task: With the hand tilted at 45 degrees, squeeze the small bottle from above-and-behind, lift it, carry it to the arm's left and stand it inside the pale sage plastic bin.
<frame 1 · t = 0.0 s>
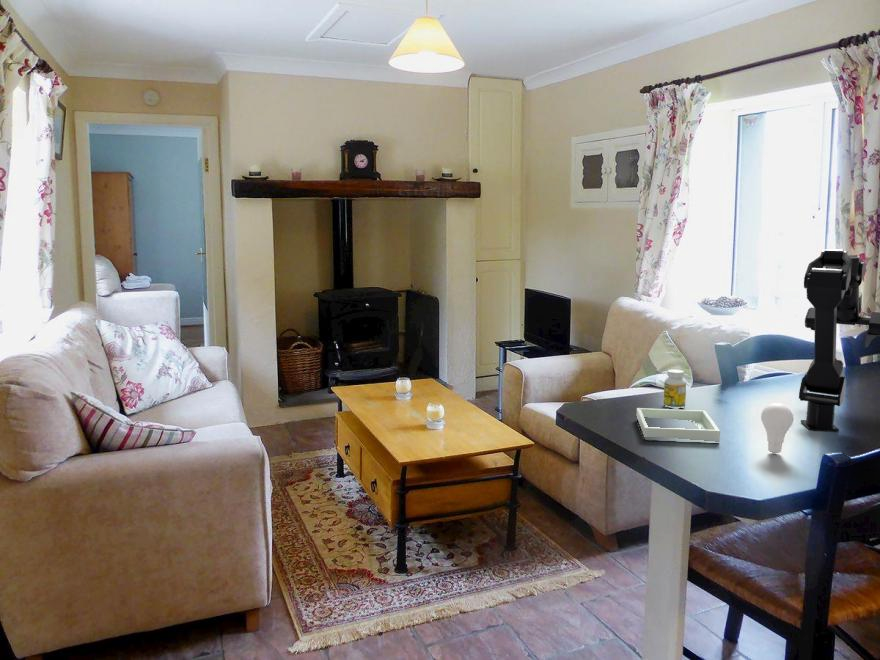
hand: (846, 344, 190), 15 cm above the table, tool tilted 35°, fingers open, 9 cm apart
bin: (675, 431, 166), on the table
supplement bottle: (674, 407, 186), on the table
lightbulb: (774, 454, 150), on the table
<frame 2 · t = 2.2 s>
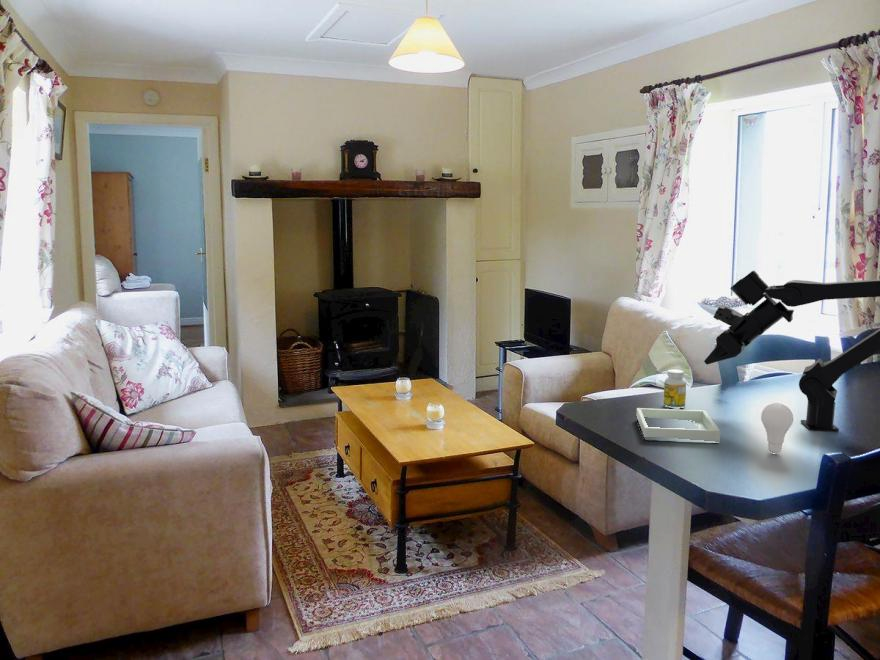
hand: (709, 359, 179), 13 cm above the table, tool tilted 45°, fingers open, 9 cm apart
nothing on the table moved.
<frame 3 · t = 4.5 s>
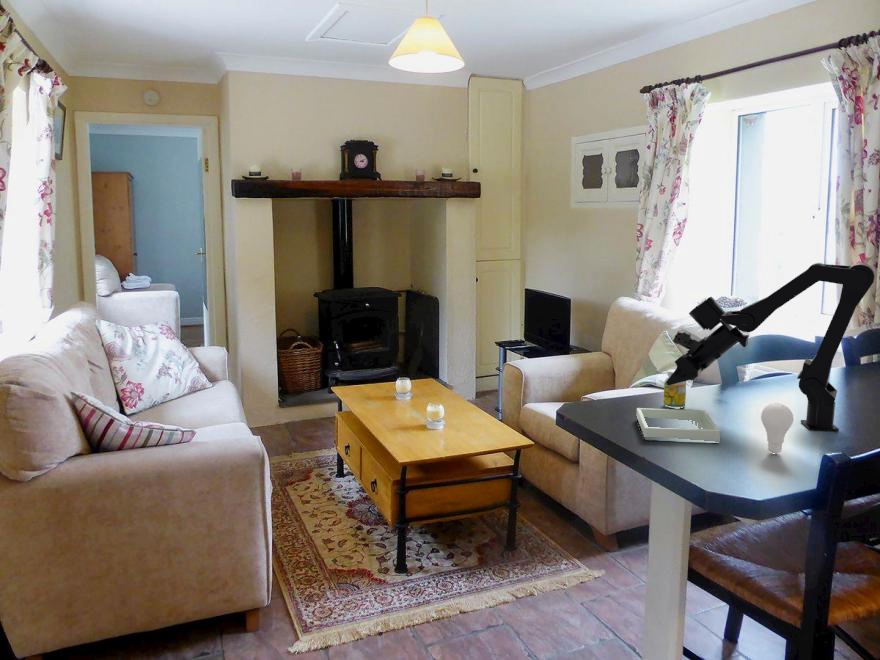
hand: (669, 381, 185), 7 cm above the table, tool tilted 45°, fingers closed on supplement bottle, 5 cm apart
supplement bottle: (674, 407, 186), on the table, touching gripper
everything else where it was.
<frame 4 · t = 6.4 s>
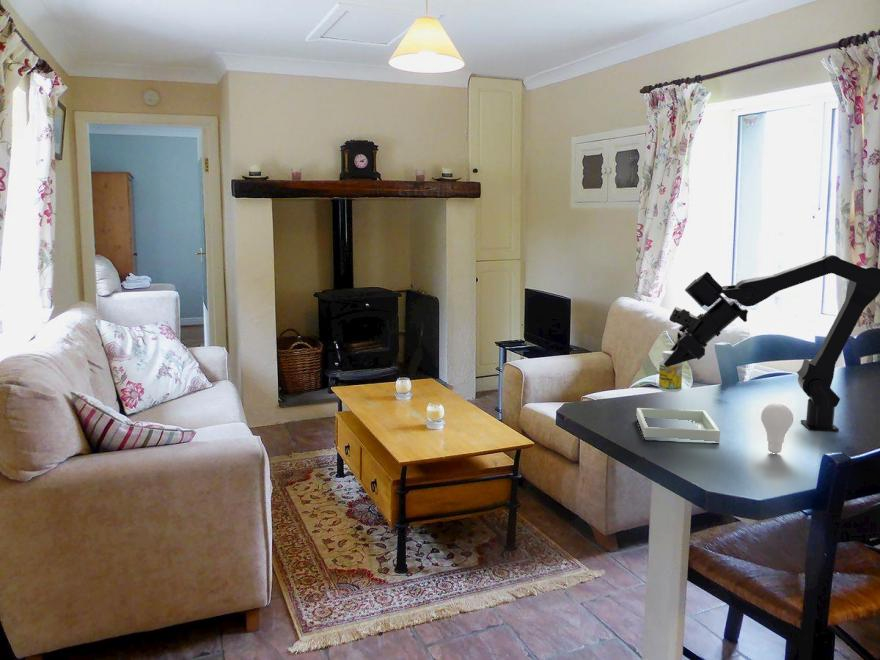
hand: (665, 363, 176), 13 cm above the table, tool tilted 45°, fingers closed on supplement bottle, 5 cm apart
supplement bottle: (669, 390, 177), point 6 cm above the table, touching gripper
everything else where it was.
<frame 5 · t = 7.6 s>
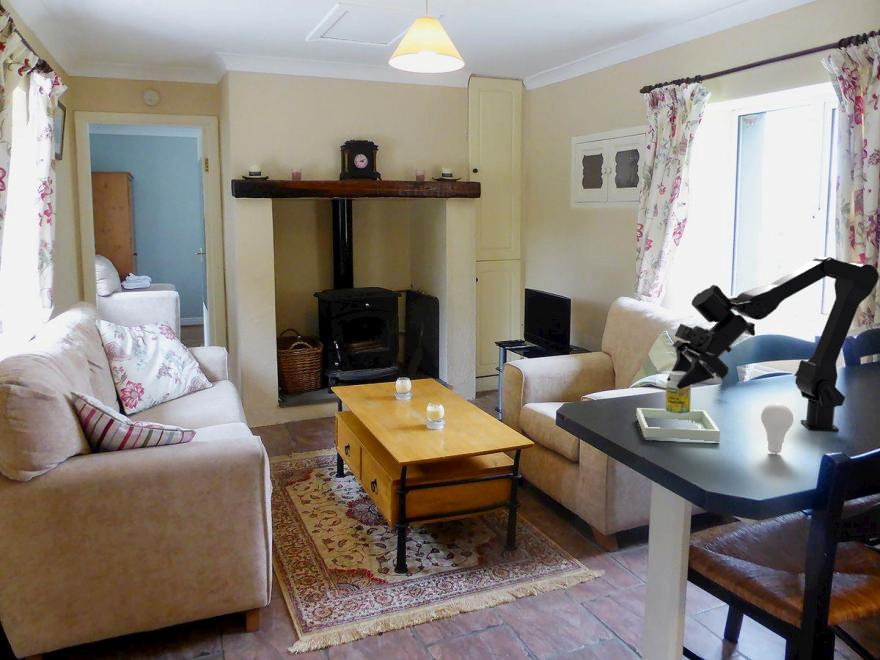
hand: (673, 384, 164), 11 cm above the table, tool tilted 45°, fingers closed on supplement bottle, 5 cm apart
supplement bottle: (677, 413, 165), point 4 cm above the table, touching gripper
everything else where it was.
when the fingers open (9 cm above the table, at t = 8.4 s): supplement bottle drops 1 cm, resting on bin.
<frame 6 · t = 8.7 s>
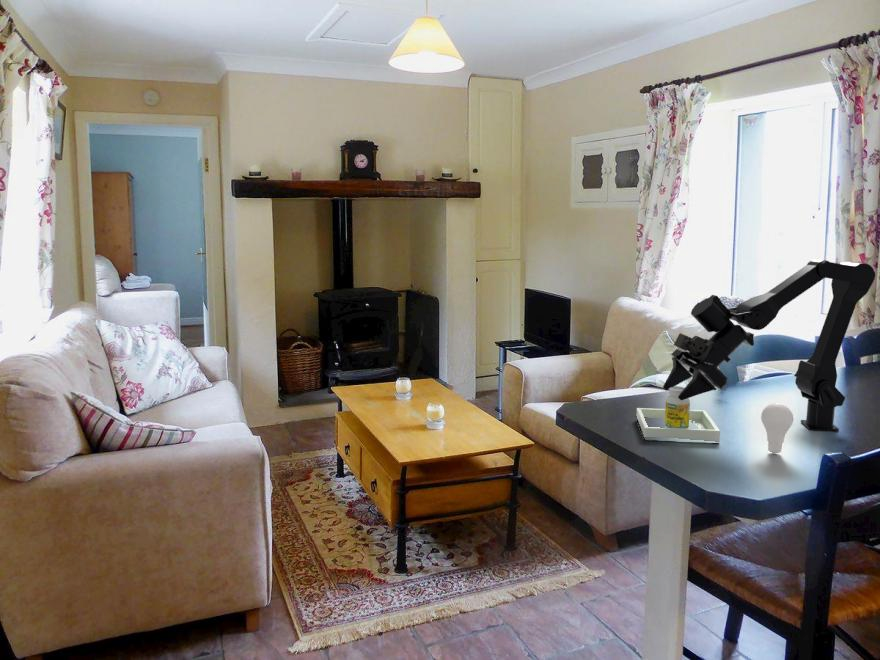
hand: (671, 393, 164), 9 cm above the table, tool tilted 45°, fingers open, 9 cm apart
supplement bottle: (676, 429, 166), resting on bin
everything else where it was.
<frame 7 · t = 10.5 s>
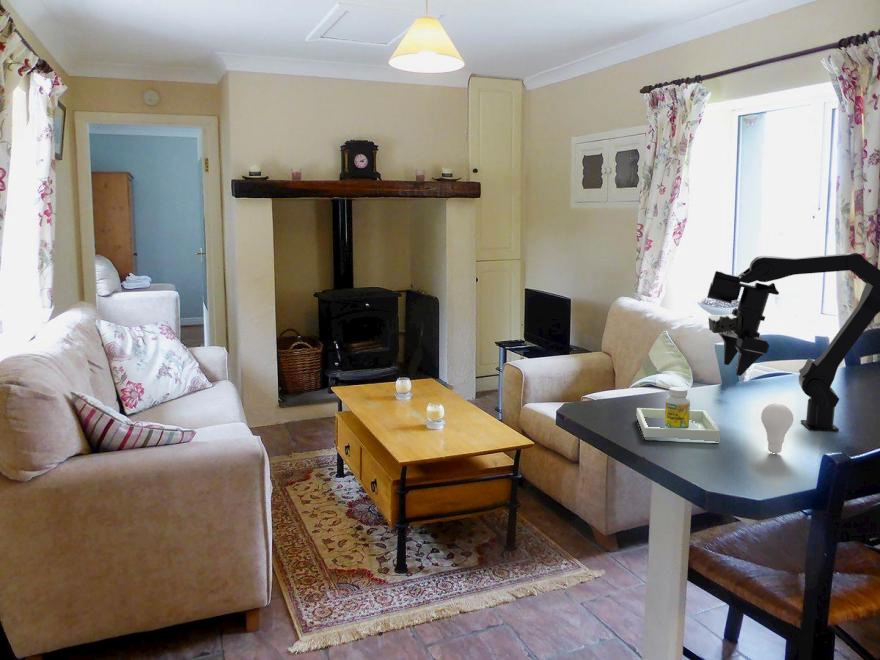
hand: (732, 369, 173), 12 cm above the table, tool pointing down, fingers open, 9 cm apart
nothing on the table moved.
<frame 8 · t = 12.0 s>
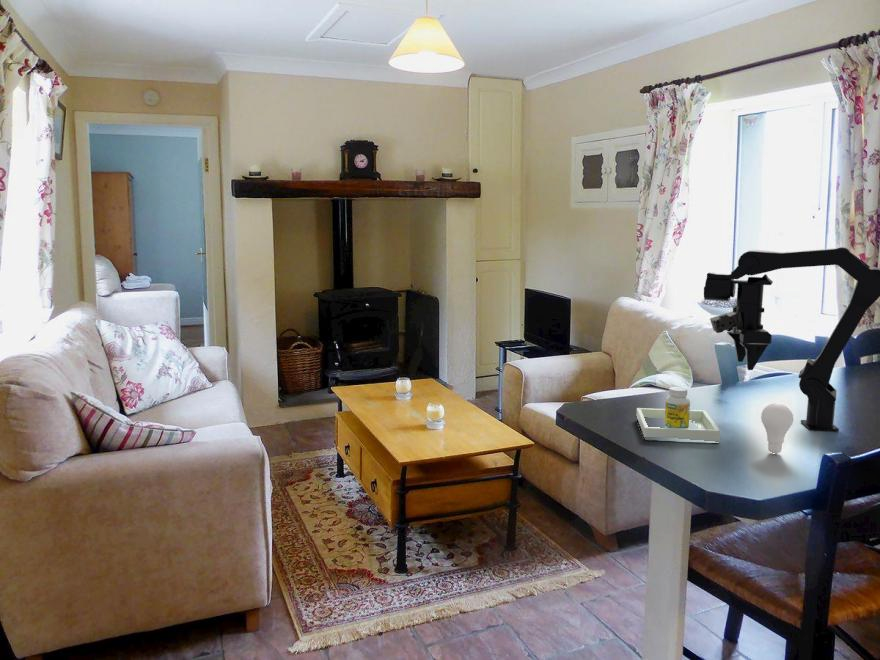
hand: (744, 365, 174), 13 cm above the table, tool pointing down, fingers open, 9 cm apart
nothing on the table moved.
at the end: supplement bottle inside the target area on the bin (0.2 cm from its centre), point 0.4 cm above the bin's base; supplement bottle tilted 0°; the gripper is holding nothing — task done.
